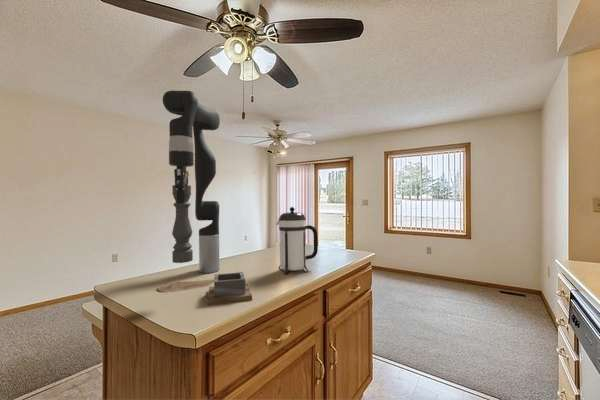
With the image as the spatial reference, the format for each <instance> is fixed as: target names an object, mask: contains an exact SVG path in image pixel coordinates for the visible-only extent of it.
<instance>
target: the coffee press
mask: <svg viewBox="0 0 600 400" xmlns="http://www.w3.org/2000/svg"><path fill="white" fill-rule="evenodd" d="M289 211H290V212H283V213H281V214H280V216H279V218H278V220H277V221H276V224H275V225H276V226H278V230H279V266H278V270H279V271H280V270H284V271H283V274H284V275H288V274H289V273H290V271H300V270H302V271H303V272H304V273H305V274H306V273H307V272H309V269H308V268H307V266H306V265H307V264H306V263H307V260H311V259H314V258H315V257H316V256H317V254H318V249H319V247H318V246H319V245H318V239H319V238H318V231H317V229H316V227H315V226H313V225H306V220H307V218H306V217H305V216H306V215H305V214H303V213H302V212H294V211H295V207H293V206H291V207H290V208H289ZM306 230H311V231H312V234H313V235H312V236H313V252H312V254H309V255H307V254H306Z"/></svg>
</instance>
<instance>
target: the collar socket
mask: <svg viewBox="0 0 600 400" xmlns="http://www.w3.org/2000/svg"><path fill="white" fill-rule="evenodd" d="M213 280H214V284H213V286H208V287H209V289H208V295H207V306H210V305H219V304H220V305H221V304H227V303H228V304H230V303H235V302H236V303H237V302H245V301H246V302H247V301H252V300H253V295H252V292H251V289H250V285H249V283H246V279H245V274H244V272H243V271H240V272H239V271H238V272H230V273H229V272H227V273H217V274H214V279H213Z"/></svg>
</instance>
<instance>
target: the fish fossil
mask: <svg viewBox="0 0 600 400" xmlns="http://www.w3.org/2000/svg"><path fill="white" fill-rule="evenodd" d="M213 283H214V279H205V280H195V281H193V280H191V281H177V282H173V283H172V282H171V283H170V282H169V283H165V284H162V285H159V286H158V287H157V289H156V290H157V292H159V293H176V292H181V291H188V290H194V289H198V288H203V287H210V285H212V284H213Z"/></svg>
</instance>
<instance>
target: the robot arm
mask: <svg viewBox="0 0 600 400" xmlns="http://www.w3.org/2000/svg"><path fill="white" fill-rule="evenodd" d="M162 104H163V107H164V108H165V109H166V111H167V112H168V113H170V114H173V115H176V116H180V117H176V118H173V119H170V121H169V140H168V164H169V166H171V167H176V168H174V170H173V171H174V172H173V175H174V185H175V188H176V190H178V191H177V202H184V201H185V200H184V191H183V190H185V185H189V176H190V174H189V171H187V168H188V167H189V168H190V167H193V166H194V179H195V202H194V203H195V204H194V205H195V206H194V207H195V209H194V210H195V211H194V212H195V214H194V215H195V219H196V220H197V221H202V222H203V221H212V222H211V223H210V224H208V225H206V226H204V227H201V228H199V229H198V265H199V266H198V270H199V273H201V274H202V273H204V274H206V273H207V274H208V273H210V274H211V273H215V272H218V271H220V225H219V224H220V204H219V202H218V201H217V200H203V197H204V196H205V195H204V194H205V193H206V191H207V189H208V188H209V185H210V184H211V183H212V181H213V180H214V179H215V177H216V175H217V161H216V158H215V155H214V153H212V150H211V149H210V148H209V146H208V145H207V142H206V140H205V136H204V134H203V131H217V130H218V129H219V127H220V123H221V121H220V120H221V119H220V118H221V117H220V114H219V112H218V110H216V109H213V108H209V107H207V106H205V105H203V104H201V103H200V102H199V101H198V98H197V96H196V94H195V92H193V91H191V90H168V91H166V92H164V94H163V96H162Z"/></svg>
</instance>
